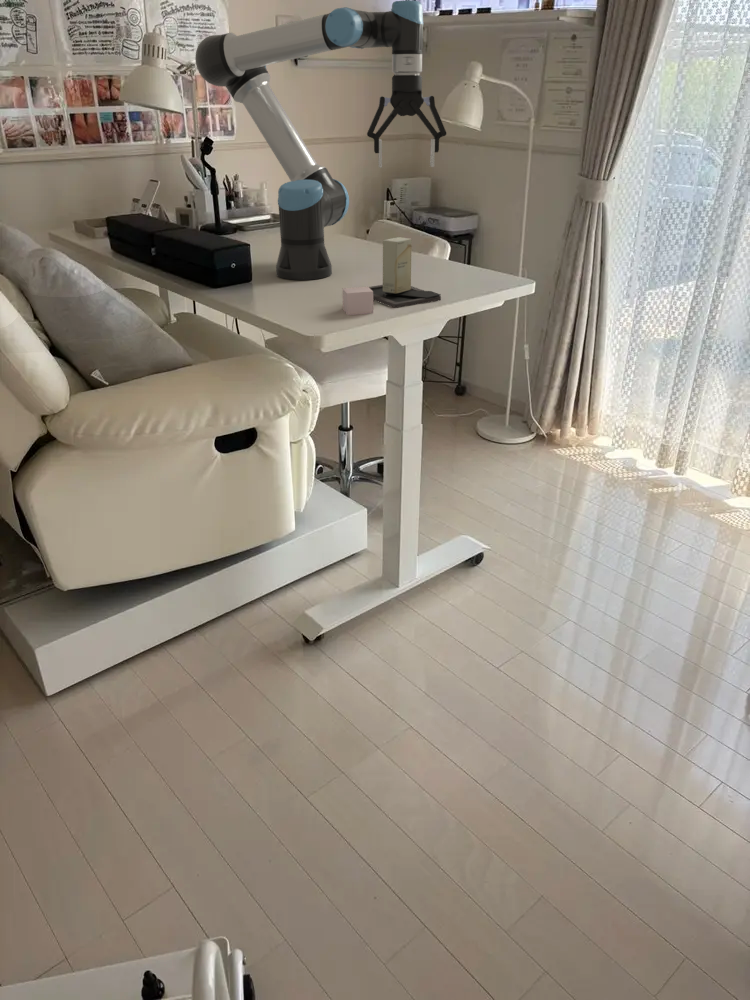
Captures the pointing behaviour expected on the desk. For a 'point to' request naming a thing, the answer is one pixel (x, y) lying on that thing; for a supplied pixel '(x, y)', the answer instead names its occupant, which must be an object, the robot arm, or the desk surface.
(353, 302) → the pink box
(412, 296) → the picture frame
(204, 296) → the desk surface
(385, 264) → the skincare box
